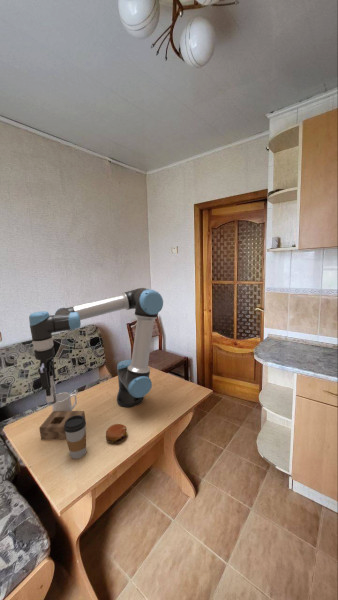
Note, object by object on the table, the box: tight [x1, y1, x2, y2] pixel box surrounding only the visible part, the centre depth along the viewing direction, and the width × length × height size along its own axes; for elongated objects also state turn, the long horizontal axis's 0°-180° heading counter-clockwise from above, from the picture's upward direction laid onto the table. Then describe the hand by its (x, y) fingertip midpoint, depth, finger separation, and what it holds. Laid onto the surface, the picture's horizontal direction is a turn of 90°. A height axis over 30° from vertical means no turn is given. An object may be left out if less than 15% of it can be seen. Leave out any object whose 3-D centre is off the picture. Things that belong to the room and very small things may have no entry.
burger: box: [105, 423, 128, 444], centre depth 111 cm, size 10×9×5 cm
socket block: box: [39, 410, 86, 441], centre depth 117 cm, size 16×12×6 cm
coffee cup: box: [64, 415, 87, 460], centre depth 102 cm, size 8×8×15 cm
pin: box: [47, 375, 57, 406], centre depth 108 cm, size 4×4×12 cm
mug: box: [51, 391, 78, 412], centre depth 129 cm, size 12×9×11 cm
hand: (51, 398), depth 109 cm, fingers closed on pin, 3 cm apart
